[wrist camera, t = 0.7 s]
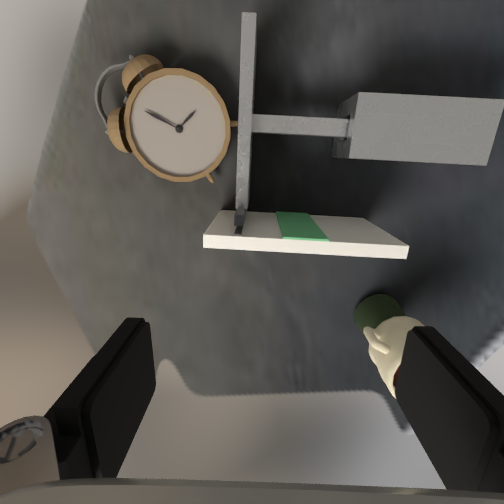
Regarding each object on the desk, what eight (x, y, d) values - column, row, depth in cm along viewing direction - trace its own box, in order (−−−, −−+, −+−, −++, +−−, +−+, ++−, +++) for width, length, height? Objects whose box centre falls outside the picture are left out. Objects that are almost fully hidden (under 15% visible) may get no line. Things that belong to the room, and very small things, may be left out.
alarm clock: (207, 200, 34) (70, 136, 29) (207, 192, 38) (88, 135, 34) (251, 105, 30) (104, 17, 26) (245, 108, 35) (120, 33, 31)
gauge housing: (337, 105, 33) (358, 91, 26) (453, 111, 33) (505, 99, 26) (330, 157, 34) (348, 158, 27) (440, 163, 34) (486, 165, 27)
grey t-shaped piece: (245, 43, 31) (239, -13, 21) (351, 48, 31) (397, -5, 20) (239, 205, 36) (231, 225, 26) (329, 210, 36) (356, 232, 26)
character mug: (328, 313, 41) (357, 381, 29) (358, 273, 39) (403, 328, 27) (390, 346, 43) (443, 424, 30) (422, 309, 40) (493, 377, 28)
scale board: (220, 208, 37) (203, 232, 25) (363, 216, 37) (409, 243, 25) (220, 219, 37) (203, 247, 26) (361, 227, 37) (406, 259, 26)
